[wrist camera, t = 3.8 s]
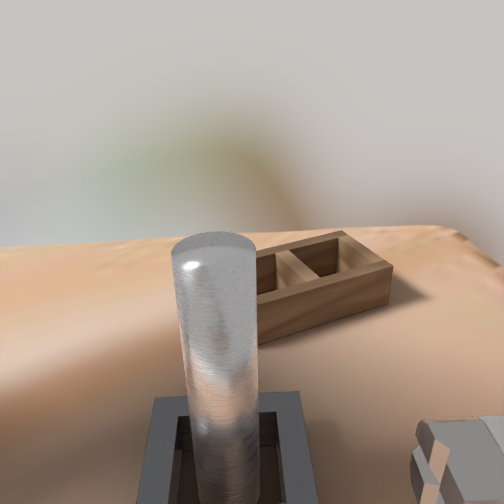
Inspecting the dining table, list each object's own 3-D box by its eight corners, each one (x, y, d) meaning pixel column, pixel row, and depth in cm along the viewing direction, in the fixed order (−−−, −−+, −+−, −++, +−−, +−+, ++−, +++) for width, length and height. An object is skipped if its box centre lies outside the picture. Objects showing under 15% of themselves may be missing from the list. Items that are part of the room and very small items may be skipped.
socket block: (137, 578, 24) (128, 543, 23) (160, 430, 32) (155, 397, 31) (320, 568, 24) (323, 532, 23) (297, 424, 32) (299, 391, 31)
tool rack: (388, 303, 45) (393, 265, 43) (239, 350, 39) (237, 310, 37) (338, 264, 51) (341, 230, 49) (205, 300, 46) (202, 264, 44)
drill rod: (190, 513, 27) (158, 267, 19) (208, 459, 30) (187, 229, 23) (253, 525, 26) (245, 275, 19) (265, 469, 29) (263, 234, 22)
